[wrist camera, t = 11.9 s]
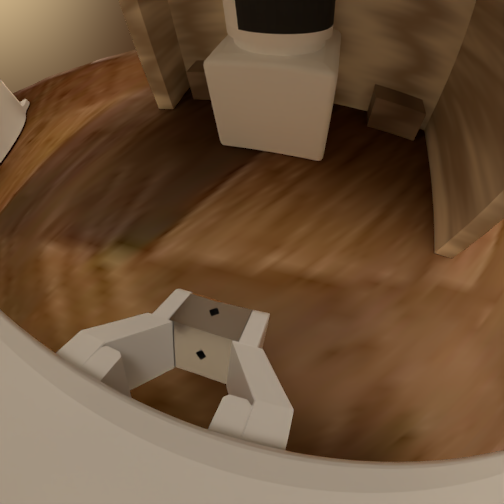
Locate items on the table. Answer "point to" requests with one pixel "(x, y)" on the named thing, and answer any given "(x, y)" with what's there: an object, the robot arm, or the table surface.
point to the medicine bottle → (275, 75)
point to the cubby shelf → (379, 86)
